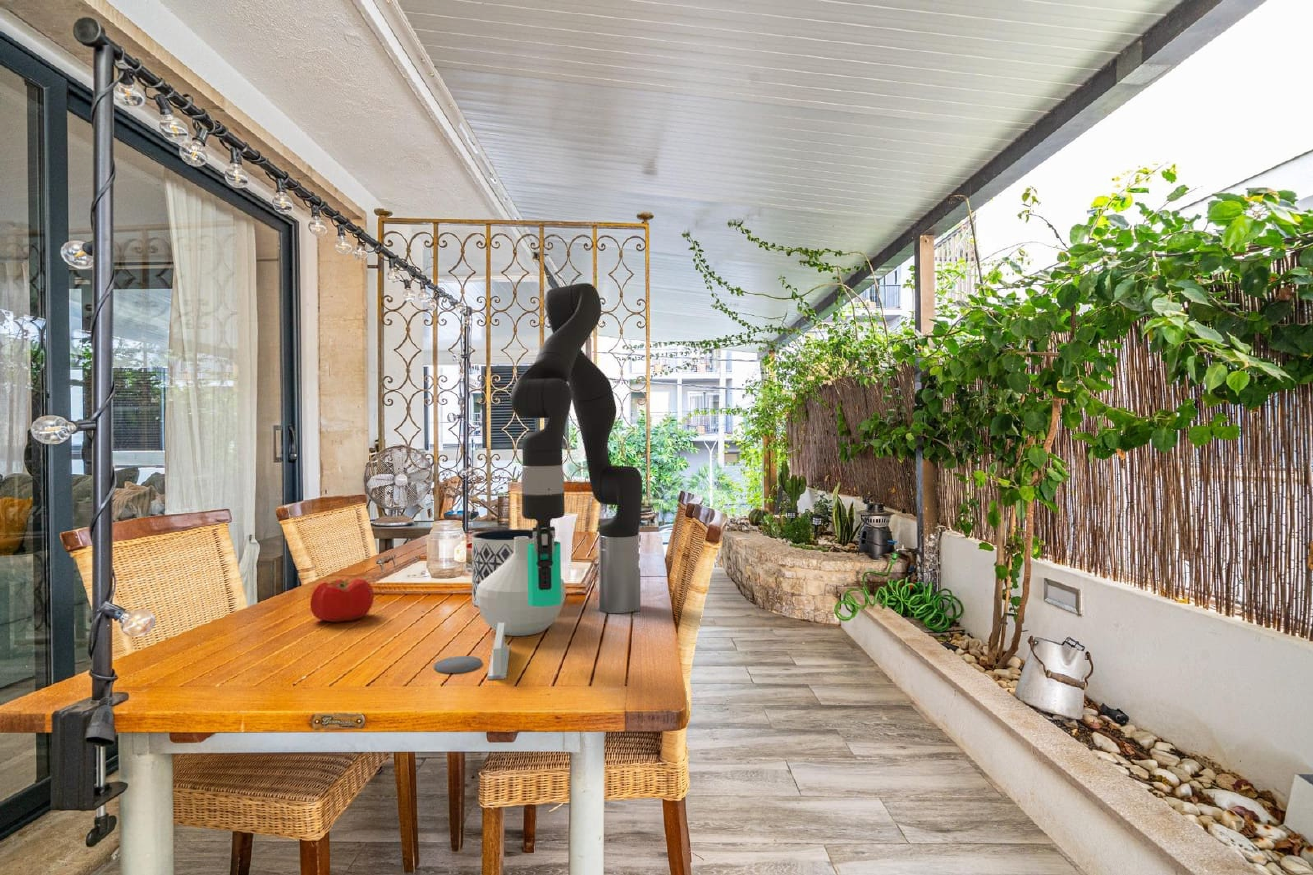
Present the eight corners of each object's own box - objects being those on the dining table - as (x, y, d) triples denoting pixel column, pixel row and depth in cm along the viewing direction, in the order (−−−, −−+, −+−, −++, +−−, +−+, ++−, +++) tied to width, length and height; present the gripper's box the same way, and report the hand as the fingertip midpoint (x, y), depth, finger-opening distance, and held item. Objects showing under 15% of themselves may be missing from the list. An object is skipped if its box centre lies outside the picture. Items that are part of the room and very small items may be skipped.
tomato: (377, 610, 157) (377, 573, 157) (369, 624, 145) (369, 584, 145) (317, 614, 154) (317, 576, 154) (304, 628, 142) (304, 588, 142)
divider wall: (509, 648, 128) (509, 622, 128) (506, 678, 112) (506, 648, 112) (493, 649, 127) (493, 623, 127) (487, 679, 111) (487, 649, 111)
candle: (565, 598, 123) (564, 532, 123) (557, 607, 118) (556, 537, 117) (532, 598, 124) (531, 532, 124) (523, 606, 118) (522, 537, 118)
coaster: (483, 657, 123) (483, 654, 123) (480, 672, 115) (480, 669, 115) (437, 659, 122) (437, 657, 122) (430, 675, 114) (430, 672, 114)
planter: (513, 590, 178) (513, 527, 178) (564, 599, 167) (563, 533, 167) (456, 604, 163) (456, 535, 163) (507, 615, 152) (507, 542, 152)
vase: (457, 637, 135) (457, 541, 135) (507, 614, 153) (507, 529, 153) (537, 646, 129) (537, 546, 129) (581, 622, 146) (580, 533, 146)
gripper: (566, 494, 114) (568, 594, 115) (562, 486, 129) (563, 575, 129) (521, 495, 113) (522, 596, 113) (521, 488, 127) (523, 578, 127)
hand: (544, 585), depth 121 cm, fingers closed on candle, 5 cm apart
